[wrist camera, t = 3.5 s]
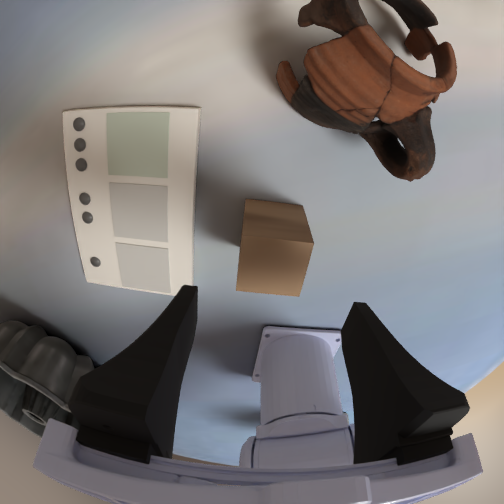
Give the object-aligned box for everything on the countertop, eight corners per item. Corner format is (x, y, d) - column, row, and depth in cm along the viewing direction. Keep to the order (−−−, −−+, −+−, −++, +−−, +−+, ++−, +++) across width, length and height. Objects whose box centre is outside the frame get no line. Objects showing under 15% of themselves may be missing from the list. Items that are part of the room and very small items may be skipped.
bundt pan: (-11, 261, 25) (-57, 317, 16) (168, 375, 33) (152, 448, 25) (-6, 351, 36) (-27, 391, 28) (111, 422, 45) (100, 466, 37)
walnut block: (292, 252, 23) (299, 296, 19) (240, 246, 23) (236, 290, 19) (302, 205, 21) (313, 243, 17) (245, 198, 21) (242, 235, 16)
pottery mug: (237, 46, 15) (282, -41, 7) (343, 19, 17) (407, -35, 9) (333, 209, 18) (433, 210, 10) (419, 152, 20) (506, 139, 12)
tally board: (193, 291, 25) (191, 298, 24) (90, 276, 25) (86, 282, 24) (201, 107, 17) (198, 109, 16) (68, 110, 16) (61, 112, 16)
